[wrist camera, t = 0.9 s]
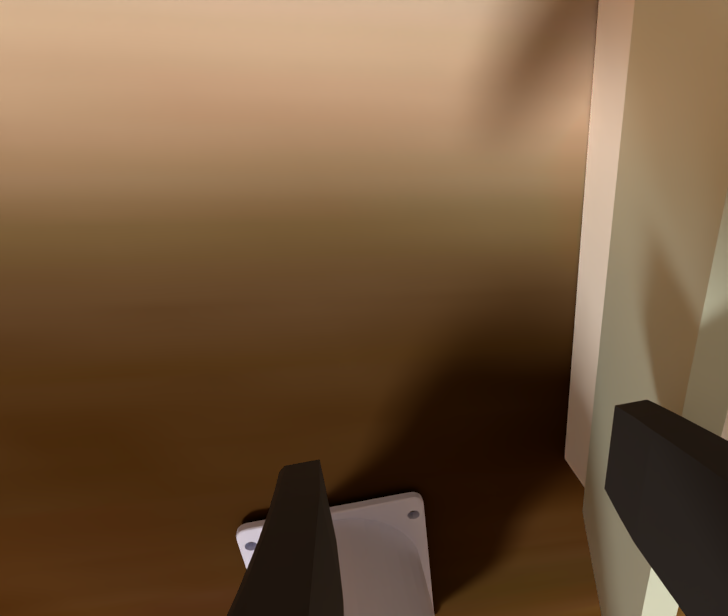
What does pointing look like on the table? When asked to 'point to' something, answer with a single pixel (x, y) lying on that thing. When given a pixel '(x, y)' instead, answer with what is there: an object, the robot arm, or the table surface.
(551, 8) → the table surface
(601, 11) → the cable duct
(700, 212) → the duct lid
